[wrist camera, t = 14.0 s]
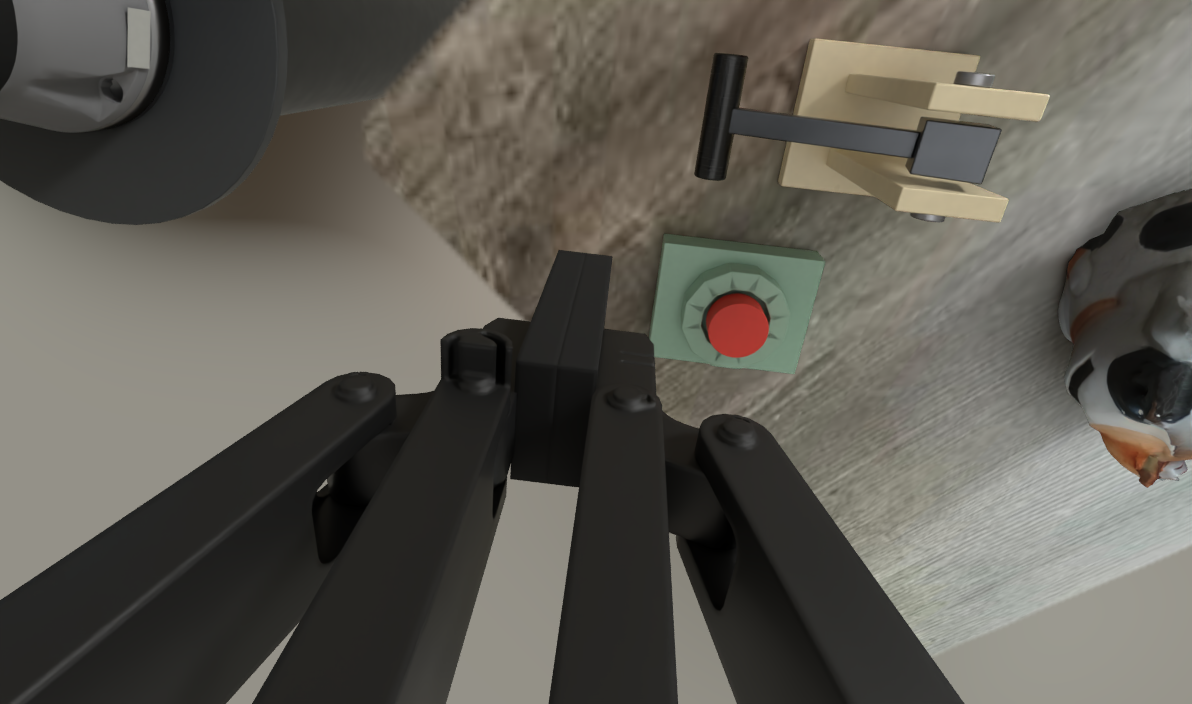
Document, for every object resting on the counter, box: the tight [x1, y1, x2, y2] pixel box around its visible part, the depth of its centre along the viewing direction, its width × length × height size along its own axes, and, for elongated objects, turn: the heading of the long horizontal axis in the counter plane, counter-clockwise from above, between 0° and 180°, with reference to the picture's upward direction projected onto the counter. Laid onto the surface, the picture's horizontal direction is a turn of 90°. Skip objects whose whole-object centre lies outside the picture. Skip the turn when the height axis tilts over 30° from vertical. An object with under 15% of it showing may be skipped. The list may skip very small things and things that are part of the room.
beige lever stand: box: [778, 39, 1050, 222], centre depth 30 cm, size 9×8×13 cm
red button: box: [706, 293, 769, 358], centre depth 38 cm, size 4×4×2 cm
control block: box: [649, 234, 825, 374], centre depth 40 cm, size 10×8×4 cm
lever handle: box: [694, 53, 1002, 184], centre depth 27 cm, size 12×6×2 cm, turn 84°
